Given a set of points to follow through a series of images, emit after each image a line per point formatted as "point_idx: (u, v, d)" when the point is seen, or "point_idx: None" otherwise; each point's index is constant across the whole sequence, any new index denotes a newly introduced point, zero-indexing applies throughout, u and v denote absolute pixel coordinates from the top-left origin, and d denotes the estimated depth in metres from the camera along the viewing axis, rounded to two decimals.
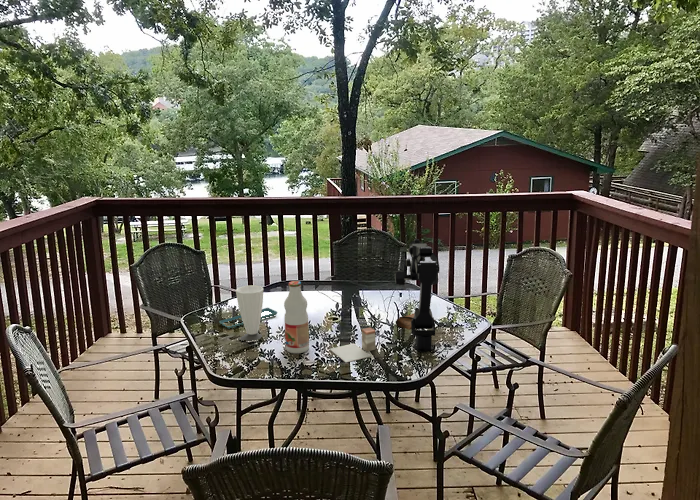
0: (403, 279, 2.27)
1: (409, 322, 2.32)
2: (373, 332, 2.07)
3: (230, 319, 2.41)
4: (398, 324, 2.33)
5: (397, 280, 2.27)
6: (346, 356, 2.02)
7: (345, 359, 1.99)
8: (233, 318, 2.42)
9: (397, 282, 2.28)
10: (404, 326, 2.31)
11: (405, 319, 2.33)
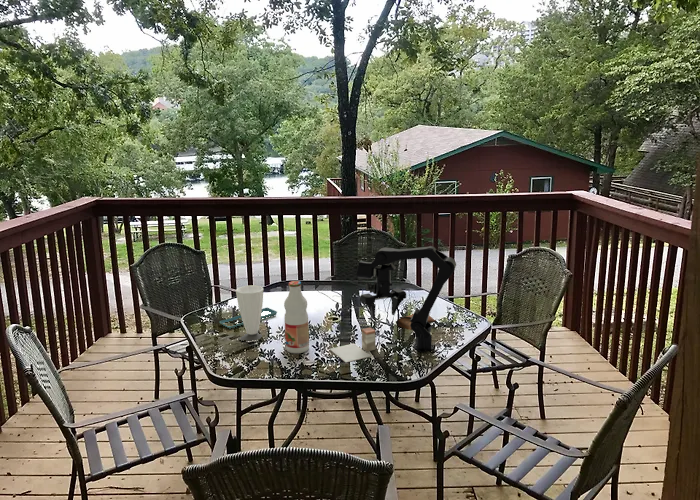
0: (373, 297, 2.04)
1: (410, 322, 2.31)
2: (373, 332, 2.07)
3: (230, 319, 2.41)
4: (399, 324, 2.33)
5: (367, 299, 2.02)
6: (346, 356, 2.02)
7: (345, 359, 1.99)
8: (233, 318, 2.42)
9: (367, 302, 2.02)
10: (405, 326, 2.30)
11: (406, 319, 2.33)
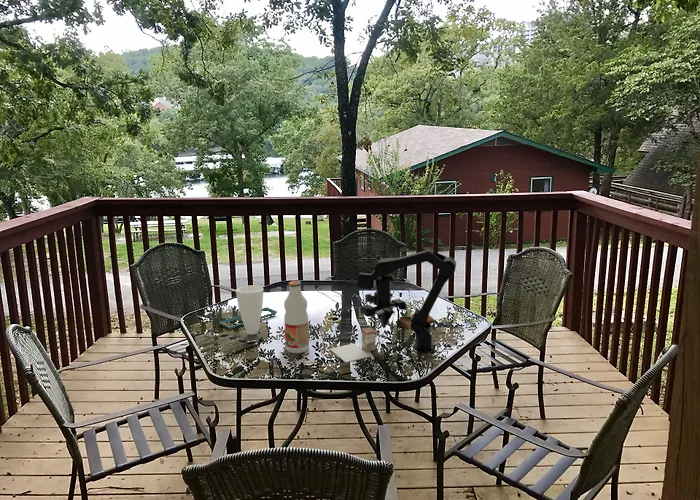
0: (373, 309, 2.04)
1: (410, 322, 2.31)
2: (373, 332, 2.07)
3: (230, 319, 2.41)
4: (399, 324, 2.33)
5: (368, 311, 2.03)
6: (346, 356, 2.02)
7: (345, 359, 1.99)
8: (233, 318, 2.42)
9: (368, 314, 2.03)
10: (405, 326, 2.30)
11: (406, 319, 2.33)
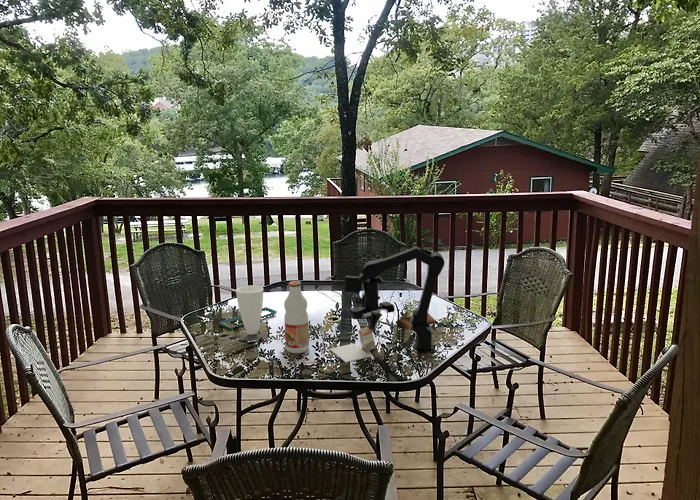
0: (361, 311, 2.02)
1: (410, 323, 2.31)
2: (370, 332, 2.06)
3: (230, 319, 2.41)
4: (399, 324, 2.33)
5: (355, 313, 2.00)
6: (346, 356, 2.02)
7: (345, 359, 1.99)
8: (233, 318, 2.42)
9: (355, 316, 2.00)
10: (405, 327, 2.30)
11: (406, 320, 2.32)
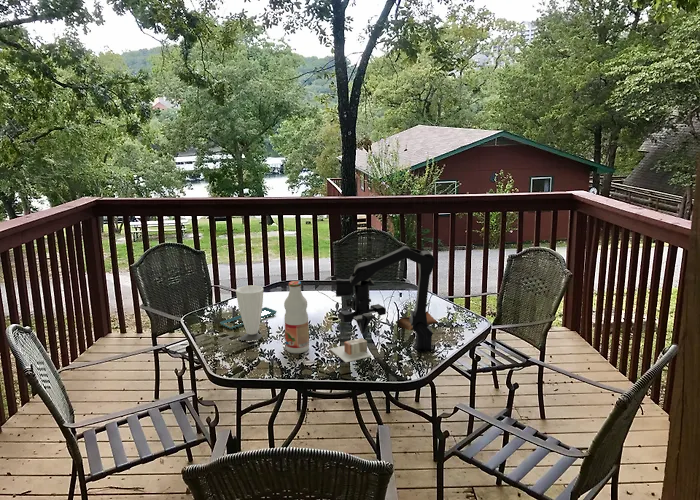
0: (351, 314, 2.00)
1: (410, 323, 2.31)
2: (350, 347, 2.03)
3: (230, 320, 2.41)
4: (399, 324, 2.32)
5: (346, 316, 1.98)
6: (346, 356, 2.02)
7: (345, 359, 1.99)
8: (233, 319, 2.42)
9: (346, 319, 1.98)
10: (405, 327, 2.30)
11: (407, 320, 2.32)
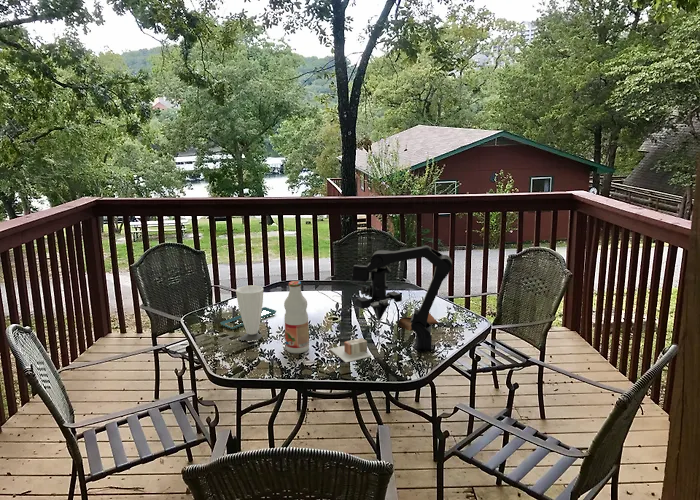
0: (368, 301, 2.02)
1: (410, 323, 2.30)
2: (350, 347, 2.03)
3: (230, 320, 2.40)
4: (400, 324, 2.32)
5: (363, 303, 2.01)
6: (346, 356, 2.02)
7: (345, 359, 1.99)
8: (233, 319, 2.41)
9: (363, 306, 2.01)
10: (405, 327, 2.30)
11: (407, 320, 2.32)
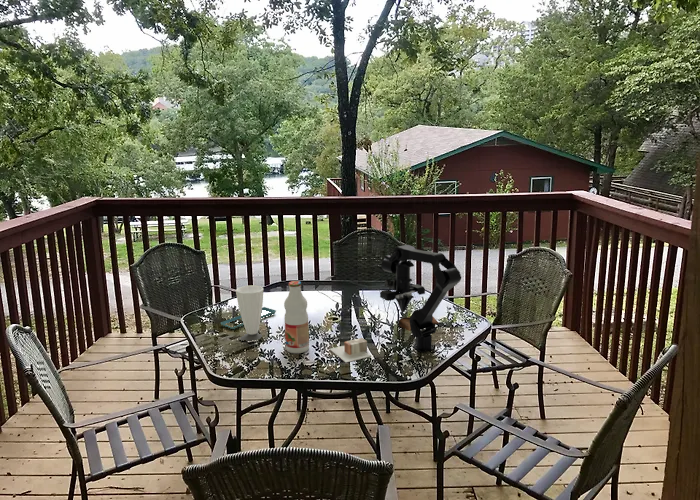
0: (393, 293, 2.08)
1: None
2: (350, 347, 2.03)
3: (230, 320, 2.40)
4: (400, 324, 2.32)
5: (388, 295, 2.07)
6: (346, 356, 2.02)
7: (345, 359, 1.99)
8: (233, 319, 2.41)
9: (389, 298, 2.07)
10: (405, 327, 2.29)
11: (407, 320, 2.32)
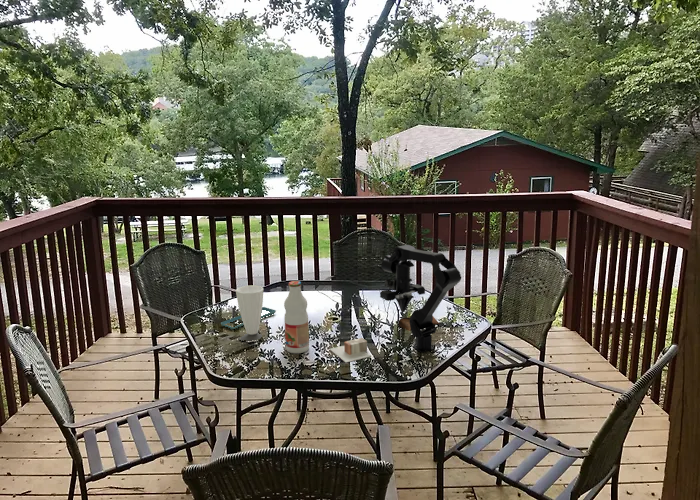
0: (393, 293, 2.08)
1: None
2: (350, 347, 2.03)
3: (230, 320, 2.40)
4: (400, 324, 2.32)
5: (388, 295, 2.07)
6: (346, 356, 2.02)
7: (345, 359, 1.99)
8: (233, 319, 2.41)
9: (389, 298, 2.07)
10: (405, 327, 2.29)
11: (407, 320, 2.32)
